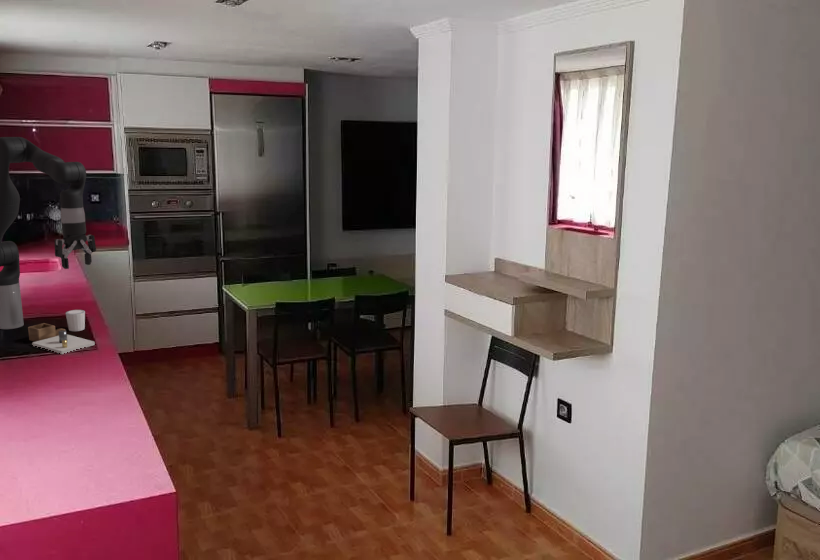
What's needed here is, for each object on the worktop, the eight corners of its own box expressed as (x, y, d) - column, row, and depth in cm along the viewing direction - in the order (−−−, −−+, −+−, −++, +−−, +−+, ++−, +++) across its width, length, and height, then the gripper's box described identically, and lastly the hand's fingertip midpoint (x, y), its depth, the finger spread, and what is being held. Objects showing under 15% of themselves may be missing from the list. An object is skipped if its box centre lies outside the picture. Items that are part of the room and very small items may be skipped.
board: (32, 345, 261) (32, 342, 261) (65, 336, 272) (65, 333, 271) (61, 354, 252) (61, 351, 252) (94, 344, 263) (94, 341, 263)
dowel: (61, 347, 256) (60, 340, 255) (65, 346, 257) (65, 339, 257) (64, 348, 255) (63, 341, 255) (68, 347, 256) (67, 340, 256)
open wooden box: (39, 343, 264) (38, 329, 263) (29, 340, 267) (28, 327, 266) (69, 335, 274) (68, 322, 273) (58, 332, 277) (57, 319, 276)
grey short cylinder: (79, 332, 278) (77, 314, 276) (63, 331, 279) (61, 313, 277) (90, 327, 284) (88, 310, 283) (74, 326, 286) (73, 308, 284)
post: (57, 342, 261) (56, 331, 260) (64, 340, 264) (63, 330, 263) (62, 343, 260) (61, 332, 259) (69, 341, 262) (68, 331, 261)
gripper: (84, 217, 259) (88, 262, 263) (47, 221, 247) (51, 268, 251) (98, 219, 255) (101, 264, 259) (61, 223, 243) (65, 271, 247)
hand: (77, 266), depth 255 cm, fingers open, 8 cm apart
